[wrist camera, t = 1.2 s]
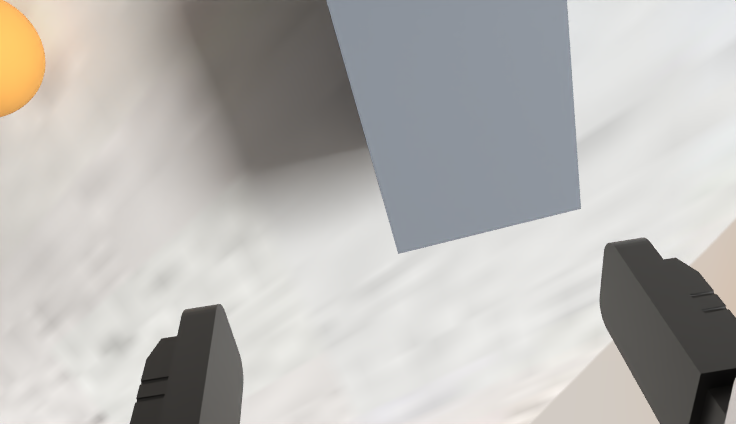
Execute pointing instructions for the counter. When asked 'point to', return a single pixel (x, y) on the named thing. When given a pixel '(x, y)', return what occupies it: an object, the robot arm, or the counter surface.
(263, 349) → the counter surface
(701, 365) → the robot arm
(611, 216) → the counter surface
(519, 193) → the matte grey box
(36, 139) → the counter surface
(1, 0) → the ball
